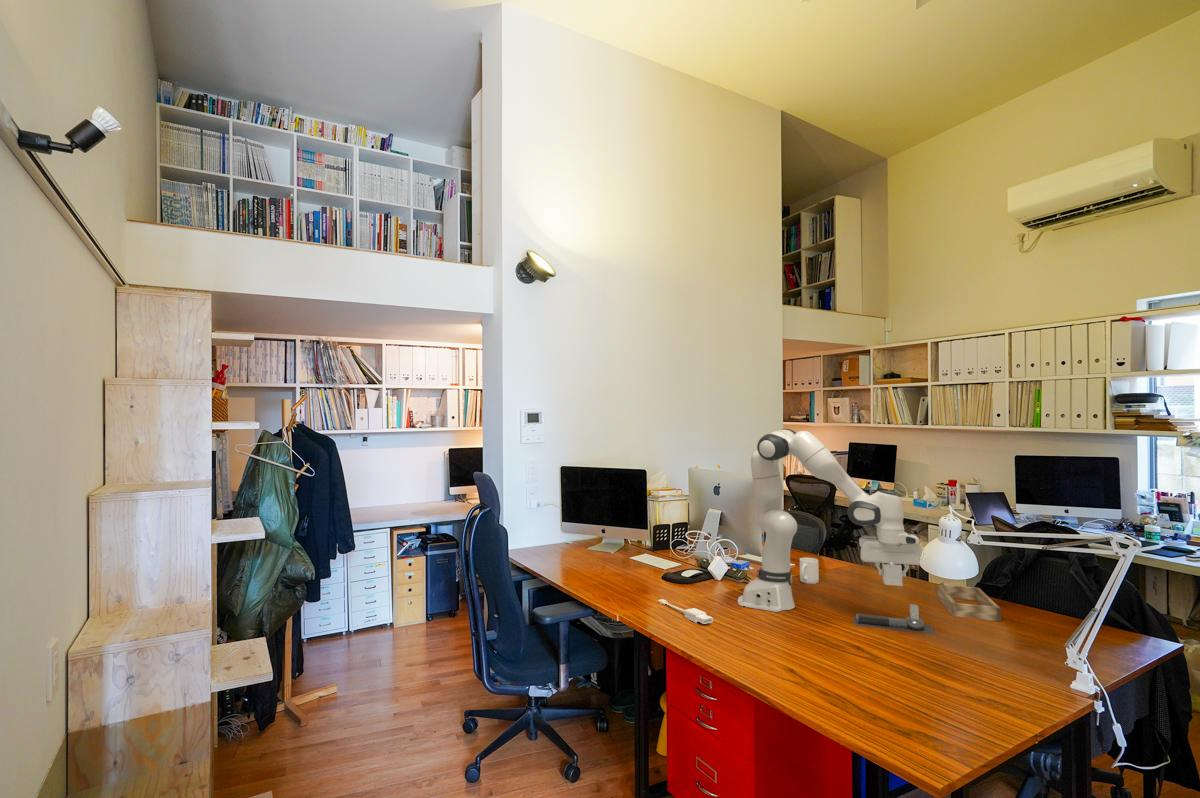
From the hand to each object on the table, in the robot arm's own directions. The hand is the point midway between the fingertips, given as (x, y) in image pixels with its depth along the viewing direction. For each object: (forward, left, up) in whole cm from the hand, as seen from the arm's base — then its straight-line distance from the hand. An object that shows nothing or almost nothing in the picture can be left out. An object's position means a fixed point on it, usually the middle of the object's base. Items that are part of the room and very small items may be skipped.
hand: (892, 575), depth 202 cm
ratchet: (-1, +6, -19) cm, 20 cm away
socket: (0, 0, -3) cm, 3 cm away
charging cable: (-75, -5, -20) cm, 77 cm away
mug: (-29, +58, -20) cm, 67 cm away
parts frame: (+31, +40, -20) cm, 54 cm away
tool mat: (0, +6, -20) cm, 21 cm away
